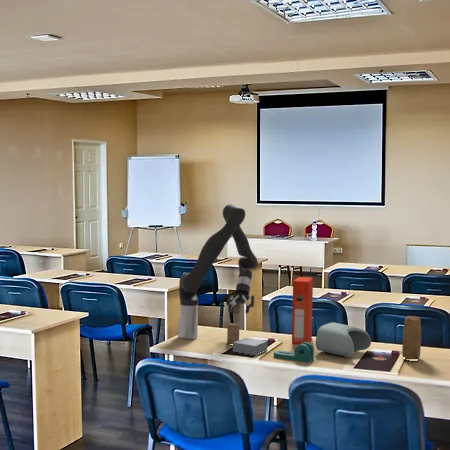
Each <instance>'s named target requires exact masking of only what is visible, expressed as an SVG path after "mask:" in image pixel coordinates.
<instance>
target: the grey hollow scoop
mask: <svg viewBox="0 0 450 450" xmlns="http://www.w3.org/2000/svg"><path fill="white" fill-rule="evenodd" d="M315 337H316V338H315V349H316V350H318V351H320V352H325V353H329V354H332V355H337V356H340V357H342V356H343V358H350V357H352V356H353V354H354V353H355V352H358V351H357V350H362V351H365V350H368V349H369V348H370V346H372V345H371V344H372V339H371V337H370V335H369V333H368V332H367V331H366V330H364V329H362V328H359V327H356V326H351V325H348V324H343V323H337V322H334V321H332V322H329V323H326V324H323V325H321V326H320V327H319V328H318V330H317V332H316V336H315ZM354 351H355V352H354Z"/></svg>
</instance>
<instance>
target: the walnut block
mask: <svg viewBox="0 0 450 450" xmlns="http://www.w3.org/2000/svg"><path fill="white" fill-rule="evenodd" d="M226 332H227V333H226V334H227V336H226V339H227V341H226V346H230V345H229V344H233V342H235V341H238V340H240V323H233V322H232V323H231V322H230V323H228V324H227V331H226Z"/></svg>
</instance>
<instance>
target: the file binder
mask: <svg viewBox="0 0 450 450" xmlns="http://www.w3.org/2000/svg"><path fill="white" fill-rule="evenodd" d="M313 287H314V278H313V277H309V276H308V277H305V276H298V277H297V278H295V279H294V280H293V281H292V309H291V310H292V313H291V314H292V316H291V319H292V321H291V322H292V323H291V345H297V346H298V345H300V344H302V343H303V342H309V343H310V341H311V340H312V334H313V332H312V331H313V295H314V293H313V292H314V289H313Z"/></svg>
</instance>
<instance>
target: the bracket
mask: <svg viewBox="0 0 450 450" xmlns="http://www.w3.org/2000/svg"><path fill="white" fill-rule="evenodd" d="M314 351H315V349H314V345H313V344H311V342H310V341H309V342H303V343H302V344H300V345H297V346H296V347H295V348H294V351H287V350H274V351H273V358H275V359H281V360H288V361H293V362H301V363H306V364H308V363H310V362H312V361H313V360H314V354H315V352H314Z"/></svg>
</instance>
